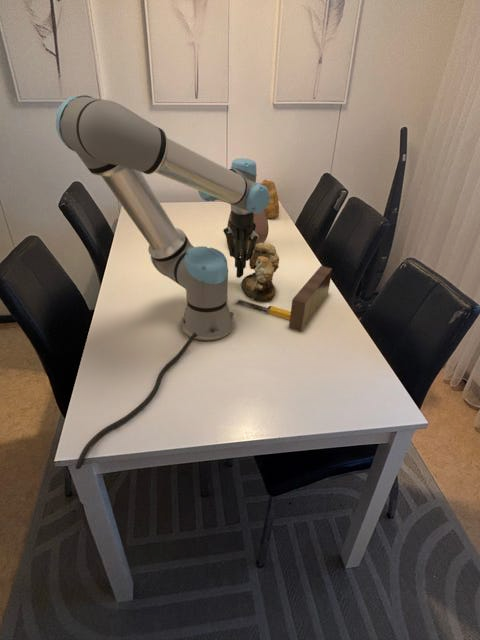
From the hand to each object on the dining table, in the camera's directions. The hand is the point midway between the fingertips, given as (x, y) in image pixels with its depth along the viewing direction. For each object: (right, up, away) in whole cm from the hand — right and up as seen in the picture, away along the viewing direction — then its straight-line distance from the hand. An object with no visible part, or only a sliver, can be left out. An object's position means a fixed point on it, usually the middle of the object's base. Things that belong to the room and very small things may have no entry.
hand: (239, 275), depth 138 cm
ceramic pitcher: (+4, +17, +32) cm, 36 cm away
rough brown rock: (+11, +41, +68) cm, 80 cm away
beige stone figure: (+6, -5, -1) cm, 8 cm away
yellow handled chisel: (+8, -13, -12) cm, 19 cm away
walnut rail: (+23, -12, -11) cm, 28 cm away
